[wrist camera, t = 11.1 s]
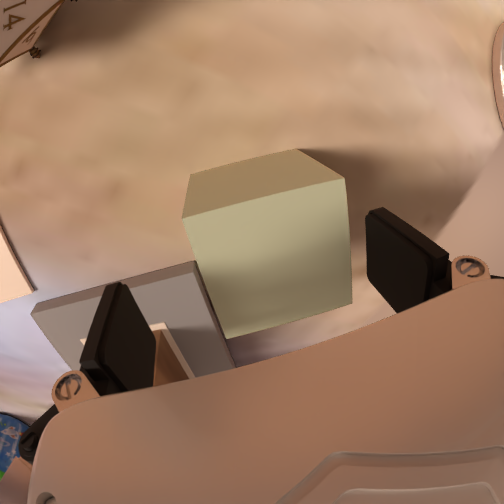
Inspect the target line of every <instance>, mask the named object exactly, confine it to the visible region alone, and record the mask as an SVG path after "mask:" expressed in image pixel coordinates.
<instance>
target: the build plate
mask: <svg viewBox="0 0 504 504" xmlns="http://www.w3.org/2000/svg"><path fill="white" fill-rule="evenodd" d="M117 282H121V283H122V284H126V285H127V286H128V288H129V289H130V291H131V293H132V295H133V297H134V299H135V301H136V303H137V305H138V307H139V309H140V311H141V312H142V314H143V316H144V318H145V320H146V322H147V323H148V325H149V327H150V329H151V330H152V331H154V330H159V329H161V331H162V332H163V334H164V336H165V338H166V340H167V341H168V343H169V345H170V347H171V348H172V350H173V352H174V354H175V355H176V357H177V359H178V361H179V362H180V364H181V366H182V367H183V369H184V371H185V372H186V374H187V376H188V377H189V379H192V378H196V377H201V376H205V375H209V374H213V373H218V372H222V371H226V370H230V369H234V368H236V366H235V364H234V362H233V359H232V357H231V354H230V352H229V350H228V347H227V345H226V342H225V340H224V338H223V335H222V333H221V330H220V328H219V325H218V323H217V320H216V318H215V315H214V313H213V310H212V308H211V305H210V302H209V300H208V297H207V295H206V292H205V289H204V287H203V284H202V282H201V279H200V276H199V274H198V271H197V268H196V265H195V263H194V261H191V262H187V263H184V264H180V265H176V266H173V267H169V268H165V269H161V270H158V271H154V272H150V273H146V274H143V275H139V276H135V277H132V278H128V279H124V280H120V281H117ZM113 283H116V282H113ZM113 283H109V284H113ZM109 284H106V285H109ZM106 285H102V286H98V287H95V288H91V289H87V290H84V291H80V292H76V293H73V294H69V295H65V296H62V297H58V298H55V299H51V300H47V301H44V302H40V303H37V304H36V305H35V307H34V309H33V310H32V312H31V316H32V317H33V319H34V320H35V322H36V323H37V325H38V326H39V328H40V329H41V330H42V332H43V333H44V335H45V336H46V337H47V339H48V340H49V341H50V343H51V344H52V345H53V347H54V348H55V349H56V351H57V352H58V353H59V354H60V356H61V357H62V358H63V360H64V361H65V362H66V363H67V364H68V366H69V367H70V368H71V369H72V370H78V371H79V370H80V367H81V364H80V363H79V361H80V357H81V354H82V351H83V348H84V345H85V342H86V339H87V336H88V333H89V330H90V327H91V324H92V321H93V318H94V315H95V313H96V310H97V307H98V305H99V302H100V299H101V297H102V294H103V291H104V289H105V287H106Z"/></svg>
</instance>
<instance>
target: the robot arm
mask: <svg viewBox="0 0 504 504" xmlns="http://www.w3.org/2000/svg"><path fill="white" fill-rule="evenodd" d="M492 72H493V83H494V91H495V97H496V103H497V107H498V111H499V116H500V119H501V122H502V125H503V128H504V22H503V23H502V24H501V25H500V26H499V29H498V31H497V33H496V36H495V40H494V44H493V55H492ZM365 224H366V252H367V277H368V279H369V281H370V282H371V284H372V285H373V286H374V287H375V288H376V289H377V290H378V292H379V293H380V294H381V295H382V296H383V297H384V299H385V300H386V301H387V302H388V303H389V305H391V307H392V308H393V309H394V310H395V312H396V313H397V314H395V315H392V316H390V317H387V318H385V319H382V320H380V321H377V322H375V323H372V324H370V325H367V326H365V327H362V328H359V329H357V330H354V331H351V332H349V333H346V334H343V335H341V336H338V337H335V338H332V339H329V340H327V341H324V342H321V343H318V344H315V345H312V346H309V347H306V348H303V349H300V350H296V351H293V352H290V353H287V354H284V355H280V356H277V357H274V358H270V359H267V360H263V361H260V362H256V363H252V364H249V365H245V366H241V367H238V368H234V369H230V370H226V371H222V372H218V373H213V374H209V375H205V376H201V377H196V378H192V379H187V380H183V381H178V382H173V383H168V384H163V385H158V386H153V381H154V366H155V353H156V339H155V336H154V334H153V332H152V330H151V329H150V327H149V325H148V323H147V322H146V320H145V318H144V316H143V314H142V312H141V311H140V309H139V307H138V305H137V303H136V301H135V299H134V297H133V295H132V293H131V291H130V289H129V288H128V286H127V285H126V284H122V283H121V282H116V283H113V284H109V285H106V287H105V289H104V291H103V294H102V297H101V299H100V302H99V305H98V307H97V310H96V313H95V315H94V318H93V321H92V324H91V327H90V330H89V333H88V336H87V339H86V342H85V345H84V348H83V351H82V354H81V357H80V361H79V363H80V364H81V367H80V370H79V371H78V370H72V371H69V372H66V373H65V374H63V375H62V376H61V377H60V378H59V379H58V380H57V381H56V382H55V384H54V386H53V389H52V398H53V401H54V403H55V404H54V405H53V406H52V407H51V408H50V409H49V410H48V411H46V412H45V413H44V414H43V415H42V416H41V417H40V418H39V419H38V420H37V421H36V422H34V423H33V424H32V425H31V426H30V427H29V428H28V429H27V430H26V431H25V432H24V433H23V434H22V436H21V438H20V441H19V444H18V450H19V454H20V457H19V458H18V457H16V456H15V458H14V459H13V461H12V463H11V464H10V466H9V467H8V469H7V471H6V472H5V474H4V475H3V477H2V479H1V480H0V504H504V277H500V276H493V275H490V273H489V268H488V266H487V265H486V264H485V262H483V261H482V260H481V259H479V258H476V257H473V256H459V257H457V258H455V259H454V260H453V261H452V262H451V261H450V260H448V259H449V253H448V252H446V251H445V250H444V249H442V248H441V247H440V246H438V245H437V244H436V243H434V242H433V241H432V240H430V239H429V238H428V237H426V236H425V235H423V234H422V233H421V232H419V231H418V230H416V229H415V228H413V227H412V226H411V225H409V224H408V223H406V222H405V221H403V220H402V219H400V218H399V217H397V216H396V215H394V214H393V213H391V212H390V211H388V210H387V209H385V208H383V207H382V208H378V209H374V210H371V211H369V213H368V215H367V216H366V218H365Z"/></svg>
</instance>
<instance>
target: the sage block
mask: <svg viewBox="0 0 504 504" xmlns="http://www.w3.org/2000/svg"><path fill="white" fill-rule="evenodd" d="M182 221H183V224H184V227H185V230H186V233H187V236H188V239H189V241H190V244H191V247H192V250H193V253H194V256H195V258H196V261H197V264H198V267H199V269H200V272H201V275H202V277H203V280H204V283H205V286H206V288H207V291H208V294H209V296H210V299H211V301H212V304H213V307H214V309H215V312H216V314H217V317H218V319H219V322H220V325H221V327H222V330H223V332H224V335H225V337H226V339H229V338H233V337H237V336H241V335H245V334H249V333H253V332H257V331H261V330H264V329H268V328H272V327H275V326H279V325H283V324H286V323H290V322H293V321H297V320H300V319H304V318H307V317H311V316H314V315H317V314H321V313H324V312H327V311H330V310H334V309H337V308H340V307H343V306H346V305H349V304H352V269H351V248H350V232H349V218H348V206H347V195H346V185H345V178H344V177H342V176H341V175H339V174H338V173H336V172H334V171H333V170H331V169H329V168H328V167H326V166H325V165H323V164H321V163H320V162H318V161H316V160H315V159H313V158H311V157H310V156H308V155H306V154H304V153H303V152H301V151H299V150H297V149H292V150H287V151H283V152H278V153H273V154H269V155H265V156H260V157H256V158H252V159H248V160H244V161H240V162H236V163H232V164H228V165H224V166H220V167H216V168H213V169H209V170H205V171H202V172H198V173H195V174H191V175H190V179H189V183H188V188H187V193H186V199H185V204H184V209H183V215H182Z"/></svg>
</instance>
